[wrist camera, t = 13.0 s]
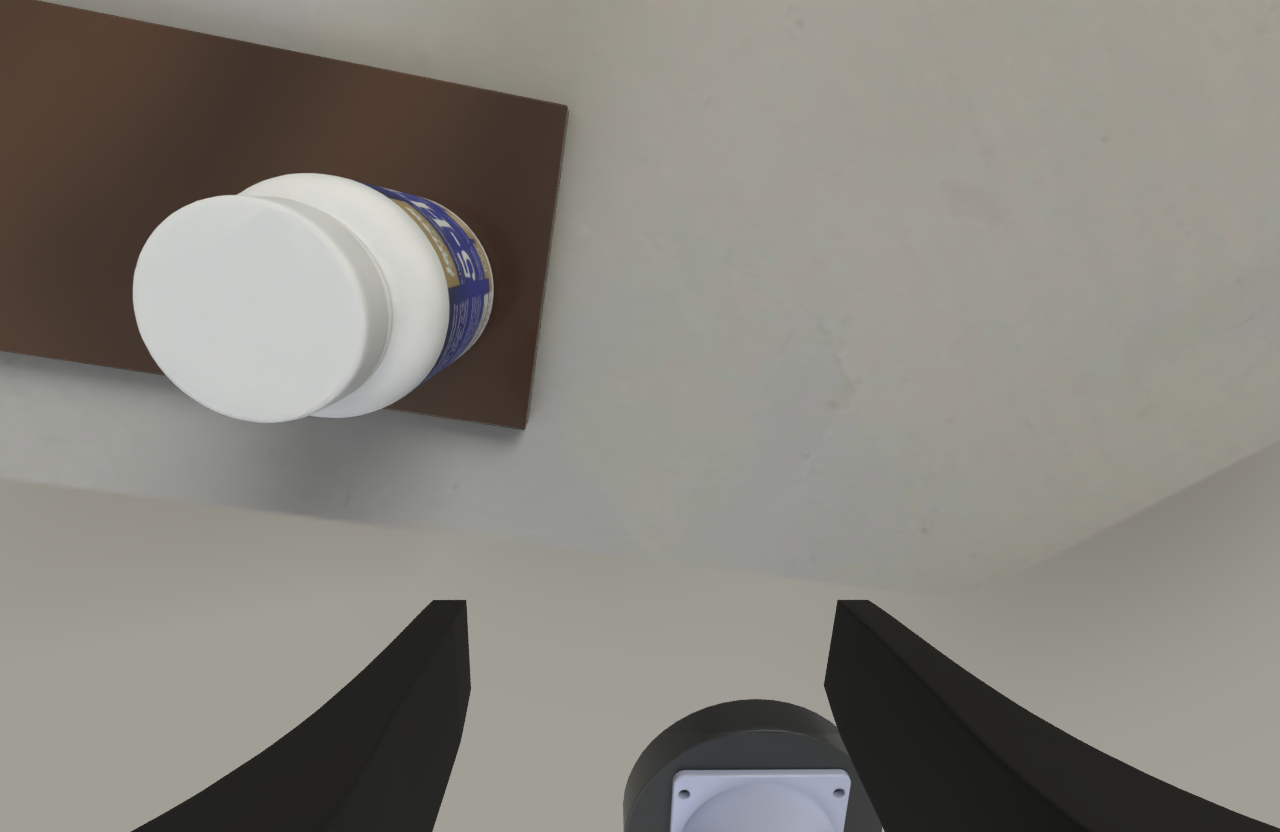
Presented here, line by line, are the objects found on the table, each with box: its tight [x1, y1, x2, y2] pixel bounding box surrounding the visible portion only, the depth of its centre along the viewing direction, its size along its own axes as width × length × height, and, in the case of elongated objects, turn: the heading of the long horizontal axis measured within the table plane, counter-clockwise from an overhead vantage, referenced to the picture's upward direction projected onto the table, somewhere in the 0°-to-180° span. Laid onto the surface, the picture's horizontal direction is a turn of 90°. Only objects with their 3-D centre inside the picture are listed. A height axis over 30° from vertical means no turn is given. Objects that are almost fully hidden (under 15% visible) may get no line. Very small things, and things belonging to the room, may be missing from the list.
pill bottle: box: [133, 173, 494, 423], centre depth 15 cm, size 5×5×9 cm
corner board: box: [0, 0, 569, 430], centre depth 19 cm, size 20×10×1 cm, turn 80°
